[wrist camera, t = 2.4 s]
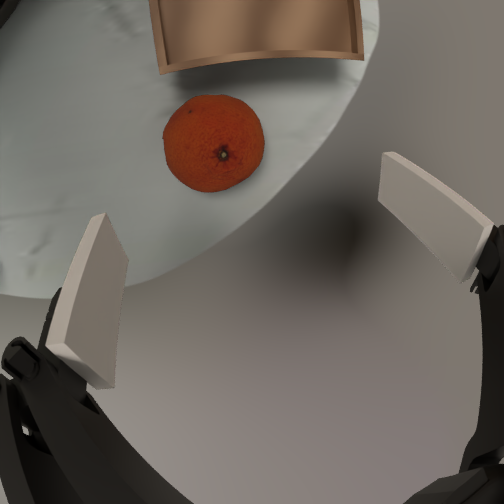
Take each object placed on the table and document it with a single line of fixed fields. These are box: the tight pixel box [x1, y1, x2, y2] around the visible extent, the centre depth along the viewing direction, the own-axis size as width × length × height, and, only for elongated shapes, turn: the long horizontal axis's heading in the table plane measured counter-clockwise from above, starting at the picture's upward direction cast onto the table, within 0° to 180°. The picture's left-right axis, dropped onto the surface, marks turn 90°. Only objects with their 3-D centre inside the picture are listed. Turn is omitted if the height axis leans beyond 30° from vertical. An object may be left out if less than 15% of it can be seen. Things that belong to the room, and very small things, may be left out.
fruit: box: [163, 95, 265, 192], centre depth 22 cm, size 9×9×8 cm
